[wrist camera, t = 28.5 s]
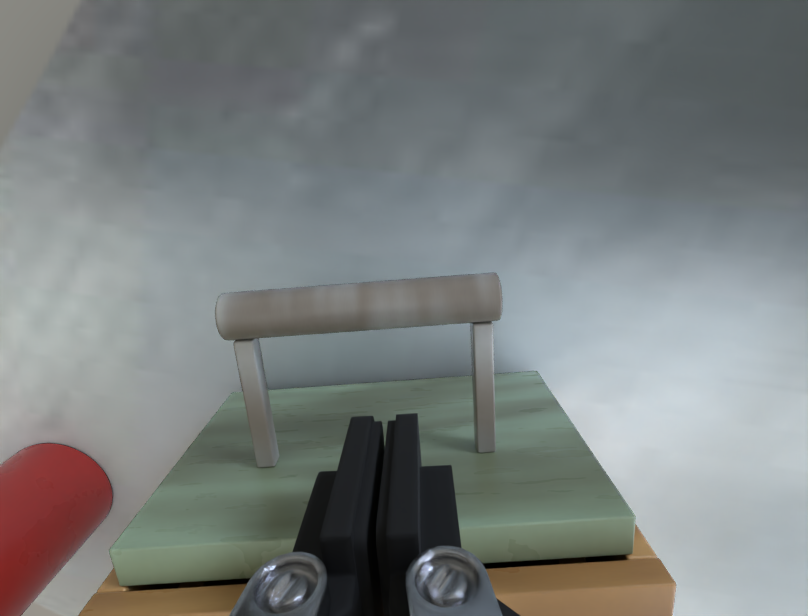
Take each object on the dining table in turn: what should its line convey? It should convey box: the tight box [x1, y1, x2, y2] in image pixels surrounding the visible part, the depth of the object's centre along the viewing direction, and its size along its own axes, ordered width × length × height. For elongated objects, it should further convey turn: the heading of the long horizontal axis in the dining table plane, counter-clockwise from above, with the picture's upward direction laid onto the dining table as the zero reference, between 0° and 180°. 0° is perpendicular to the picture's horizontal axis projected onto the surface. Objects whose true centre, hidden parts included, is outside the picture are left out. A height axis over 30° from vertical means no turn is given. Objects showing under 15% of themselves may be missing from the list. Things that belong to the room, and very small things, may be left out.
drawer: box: [109, 273, 636, 588], centre depth 17 cm, size 20×13×9 cm, turn 4°
